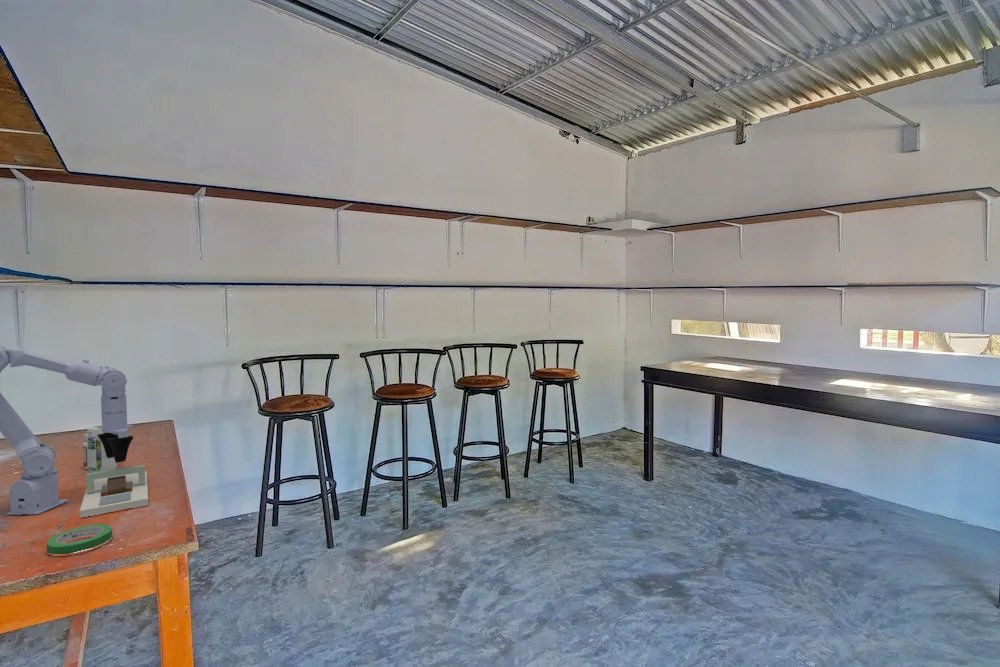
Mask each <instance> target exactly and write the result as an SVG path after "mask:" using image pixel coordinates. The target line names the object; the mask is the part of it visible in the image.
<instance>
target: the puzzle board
mask: <svg viewBox="0 0 1000 667" xmlns="http://www.w3.org/2000/svg"><path fill="white" fill-rule="evenodd" d="M147 473H148V471H147V470H145V484H141V485H139V477H138V473H133V474H127V475H126V488H129V489H131V491H126V493H120V494H114V495H108V494H107V495H104V496H103V494H104V492H105V493H108V490H107V480H108V478H111V477H107V478H101V479H94V492H93V493H87V487H86V488H85V492H84V495H83V499H82V502H81V505H80V509H79V519H80V518H81V517H87V518H89V517H88V516H93V517H95V516H94V515H98V516H100V515H99V514H103V513H108V512H113V511H117V510H122V509H127V508H133V507H138V506H143V505H148V506H149V491H148V488H149V487H148V474H147ZM120 476H124V475H120ZM114 477H117V476H114ZM130 487H132V488H130ZM103 515H104V514H103Z"/></svg>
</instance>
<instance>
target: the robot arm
mask: <svg viewBox="0 0 1000 667" xmlns="http://www.w3.org/2000/svg"><path fill="white" fill-rule="evenodd" d="M9 364H10V365H9ZM8 365H9V368H17V367H22V366H27V367H33V368H38V369H43V370H47V371H51V372H55V373H56V372H57V373H58V374H59V373H60V374H64V375H65V377H66V379H67V381H72V382H75V383H78V384H79V383H80V384H84V385H88V386H93V387H98V386H101V396H100V407H101V408H100V409H101V412H100V413H101V425H102V429H101V432H104V433H103V434H98V435H97V436H98V437H99V439H100V440H101V442H102V444H103V446H104V450H105V453H106V456H107V458H112V457H114V459H115V462H116V463H117V464H119V463H123V462H126V460H127V455H128V453H129V452H128V451H129V447H130V445H131V443H132V441H133V440H134V435H128V434H129V433H128V430H129V429H131V428H133V425H132V424H128V408H127V407H128V406H127V394H126V392H127V390H126V385H127V383H128V379H127V377H126V375H125V374H124V373H123V371H121V370H119V369H116V368H114V367H113V368H112V367H111V368H110V366H109V365H106V364H105V365H104V366H102V365H98V364H95V363H91V362H90V360H88V359H86V358H83V359H82V360H81V359H76V360H73V361H70V362H68V361H65V360H61V359H57V358H55V357H50V356H47V355H44V354H40V353H36V352H34V351H29V350H25V349H20V348H15V347H7V348H6V347H5V346H1V345H0V373H1V372H2V371H3V370H4V369H5V368H6V367H7V366H8ZM0 433H1V435H2V436H4V438H5V440H7V442H8V443H9V444H10V445H11V447H12V448H13V449H14V452H15V453H16V456H17V457H18V458H19V459H20V461H21V469H22V471H23V472H21V474H20V478H19V479H18V480H17V481H16V482H14V483H13V484H12V485H11V486H10V488H9V504H10V505H9V506H10V508H9V509H10V511H8V512H7V513H6V514H7V515H8V516H9V515H10V516H14V515H15V516H17V515H18V516H19V515H20V516H21V515H23V514H24V515H25V514H27V515H40V514H42V513H45V512H47V511H49V510H51V509H53V508H56V507H59V506H60V505H62V504H64V503H65V504H66V503H68V502H69V499H65V498H64V499H63V498H62V499H60V487H59V484H60V482H59V468H57V467H55V464H56V456H57V455H56V451H55V449H53V447H52V446H51V447H50V446H48V445H46V444H45V443H43V442H42V440H40V438H38V437H37V436H36V435H35V434H34V433H33V432H32V430H31V429H30V428H29V427H28V425H27V423H25V422H24V420H23V419H22V418H21V416H20V415H19V414H18V413H17V412H16V410H15V409H14V408H13V407H12V405H11V404H10V403H9V402H8V400H7V398H5V397H4V395H3V394H2V393H1V392H0Z"/></svg>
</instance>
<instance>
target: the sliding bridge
mask: <svg viewBox="0 0 1000 667" xmlns="http://www.w3.org/2000/svg"><path fill="white" fill-rule="evenodd" d="M145 471H146V470H145V464H141V465H133V466H132V465H131V466H124V467H120V468H119V467H117V469H111V470H104V471H97V472H86V473H85V481H86V482H85V483H86V485H85V486H86V488H87V493H93V492H94V479H101V478H107V477H114V476H120V475H127V474H133V473H138V477H139V485H141V484H145Z"/></svg>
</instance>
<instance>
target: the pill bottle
mask: <svg viewBox="0 0 1000 667" xmlns="http://www.w3.org/2000/svg"><path fill="white" fill-rule="evenodd" d="M84 441H85V442H84V443H83V444H82V457H83V458H82V459H83V469H85V470H88V440H87V433H85V434H84Z"/></svg>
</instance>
